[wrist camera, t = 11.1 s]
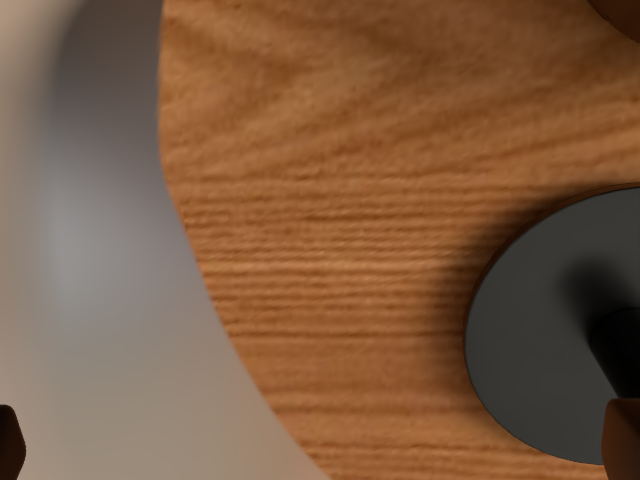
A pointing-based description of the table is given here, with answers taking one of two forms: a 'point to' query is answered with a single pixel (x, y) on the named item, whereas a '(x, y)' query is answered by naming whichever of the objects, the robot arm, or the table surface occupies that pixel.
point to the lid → (560, 323)
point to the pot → (621, 15)
